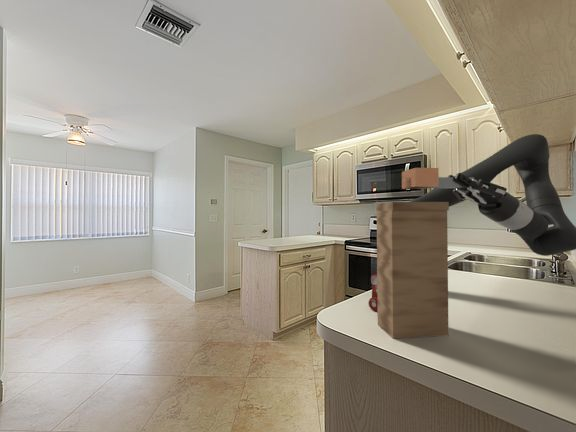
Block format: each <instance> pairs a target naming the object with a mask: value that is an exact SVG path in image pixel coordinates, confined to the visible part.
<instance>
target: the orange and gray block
mask: <svg viewBox="0 0 576 432" xmlns="http://www.w3.org/2000/svg"><path fill="white" fill-rule="evenodd" d="M454 178H455V177H448V176H444V177H443V176H439V167H414V168H411V169H408V170H403V171H401V190H425V189H434V188H467V187H464V186H462V185H461V184H459V183H457V182H456V181H455V180H454ZM468 178H469V179H471V180H472V179H474V177H468Z"/></svg>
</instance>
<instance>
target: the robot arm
mask: <svg viewBox="0 0 576 432" xmlns="http://www.w3.org/2000/svg"><path fill="white" fill-rule="evenodd" d="M549 159H550V149H549V143H548V139H547V138H546V136H544V135H542V134H538V133H533V134H528V135H524V136H521V137H519V138H517V139H516V140H514V141H512V142H510V143H509V144H507V145H506V146H504V147H502V148H501V149H499V150H497V152H495V153H493V154H492V155H490V156H488V157H487V158H486V159H484V160H481V161H480V162H478V163H477V164H475V165H473V166H471V167H469V168H468V169H466V170H463V171H462V172H458V173H456V174H455V175H452V174H450V175H447V177H455V178H454V180H455V181H456V182H457V183H459V184H461V185H462V186H464V187H467V188H431V190H429V191H428V192H426V193H425V194H423V195H421V196H419V197H417V198H414V199H412V200H410V201H409V202H449V208H450V207H452V206H455V205H457V204H460V203H461V202H465V201H466V200H469V201H470V202H471V203H472V204H475V205H477V208H478V211H479V213H480V214H481V215H484V216H485V217H486V218H488V219H489V220H491V221H493V222H495V223H496V224H498V225H500V226H501V227H503V228H506V229H507V230H510V231H511V232H512V233H514V234H516V235H518V236H519V237H520V238H521V239H522V241H524V243H525V244H526V245H527V246H528V248H529V249H530V250H531V251H532V252H533V253H535V254H536V255H538V256H545V257H548V256H554V255H556V254H561V253H566V252H567V253H568V252H569V251H571V252H572V251H576V226H575V225H574V224H573V222H572V221H571V220H570V218H568V216H567V214H566V213H565V211H564V208H563V204H562V202H561V198H560V197H559V194H558V192H557V189H556V188H555V186H554V184H553V183H552V180H551V178H550V172H549V171H550V170H549V167H550V166H549V165H550V163H549V161H550V160H549ZM511 167H514V169H515V171H516V172H517V174H518V175H519V177H520V178H521V182H522V184H523V188H524V197H525V202H523V201H521V200H520V199H518V198H517V197H515V196H514V195H512V194H510V192H508V191H507V190H508V188H506V187H504V186H503V185H502V186H501V185H498V184H496V183H494V182H492V181H493V180H494V179H495V178H496V177H497V176H498V175H500V174H501V173H502V172H503V171H505V170H507V169H509V168H511ZM468 177H474V179H472V180H471V179H469V178H468ZM551 225H553V226H551Z"/></svg>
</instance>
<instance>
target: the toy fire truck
mask: <svg viewBox="0 0 576 432" xmlns="http://www.w3.org/2000/svg"><path fill="white" fill-rule="evenodd" d="M370 283H371V298H369V300H368V306H369V308H370V310H371V311H373V312H378V305H377V274H371V277H370Z"/></svg>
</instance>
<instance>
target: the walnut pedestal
mask: <svg viewBox="0 0 576 432" xmlns="http://www.w3.org/2000/svg"><path fill="white" fill-rule="evenodd" d="M449 208H450V207H449V202H410V201H390V202H381V203H375V212H376V266H377V267H376V275H377V305H378V311H377V325H378V327H380V328H381V329H382V330H383V331H384V332H385V333H386V334H387V335H389V336H390V338H392V339H393V340H394V339H407V338H427V337H440V336H441V337H442V336H449V273H448V272H449V269H448V268H449V265H448V264H449V260H448V257H449V256H448V255H449V253H448V250H449V249H448V247H449V246H448V242H449V241H448V211H449V210H450V209H449Z"/></svg>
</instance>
